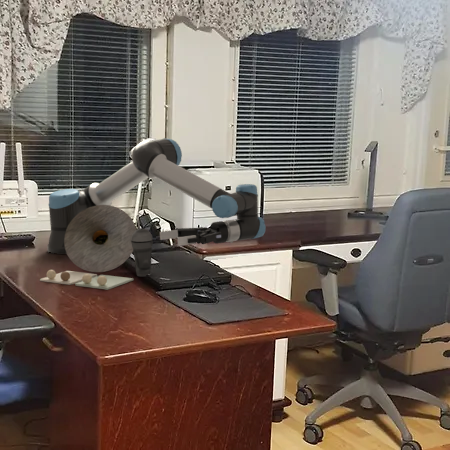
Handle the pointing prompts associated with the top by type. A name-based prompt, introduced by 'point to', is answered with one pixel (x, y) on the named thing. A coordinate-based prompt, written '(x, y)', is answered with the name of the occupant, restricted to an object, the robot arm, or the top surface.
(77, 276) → the cream card
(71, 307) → the top surface
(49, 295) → the top surface
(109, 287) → the sage card
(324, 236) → the top surface
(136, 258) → the beverage cup
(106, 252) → the disc
